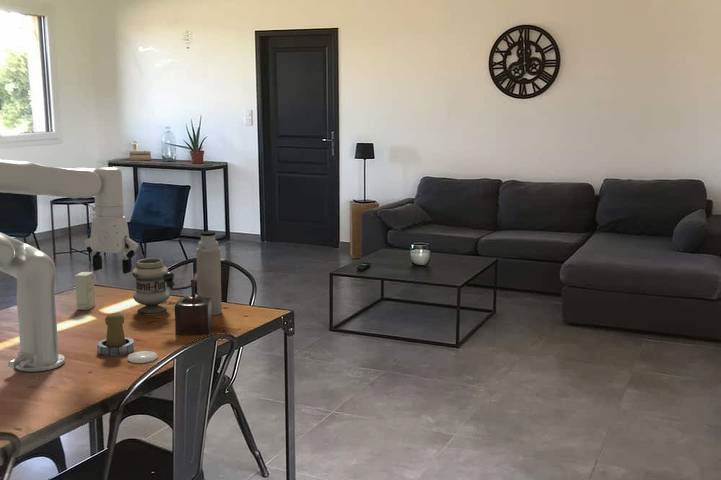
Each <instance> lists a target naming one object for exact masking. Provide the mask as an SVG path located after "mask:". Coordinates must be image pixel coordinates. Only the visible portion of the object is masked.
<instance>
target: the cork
mask: <svg viewBox="0 0 721 480" xmlns="http://www.w3.org/2000/svg"><path fill="white" fill-rule="evenodd" d="M104 321H105V324H106V326H107V328H106V338H105V339H106V346H110V347H113V346H122V345H125V344H126V341H125V337H126V336H125V332H124V331H125V330H124V327H123V324H124V323H125V317H124V315H123V314H122V313H120V312H113V313H109V314H107V315H106V316H105V319H104Z"/></svg>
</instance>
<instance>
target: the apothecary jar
mask: <svg viewBox="0 0 721 480" xmlns="http://www.w3.org/2000/svg"><path fill="white" fill-rule="evenodd" d="M163 263H164V262H163V259H162V258H159V257H158V258H157V257H149V258H141V259H138V260H137V261H136V266H134V268H133V269H132V270H131V272H132V273H131V274H132V276H133V277H134V278H135V282H136V290H135V291H134V293H133V296H132V297H133V298H132V299H133V300H134V301H135V302H136V303H137V304H140V305H143V306H142V307H140V308H138V309H137V310H136V312H137V314H138V315H144V316H158V315H162V314H165V313H166V312H167V311H168V310H167V308H166V307H164V306H162V303H165V302H166V301H168V299H169V298H170V295H171V293H170V292H169V290H168V289H167V287H166V282H165V281H164V280H163V278H162V276H163V274H164V273H166V272H169V269H168V267H167V266H165V264H163Z"/></svg>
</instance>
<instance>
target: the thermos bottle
mask: <svg viewBox="0 0 721 480" xmlns="http://www.w3.org/2000/svg"><path fill="white" fill-rule="evenodd" d="M197 246H198V247H197V248H196V252H195V253H196V283H197V284H196V285H197V286H196V287H197V288H196V289H197V291H196V295H199V296H201V297H205V298H211V299H212V301H211V303H212V316H217V315H220V314H221V313H222V312H223V311H222V310H223V309H222V279H221V278H222V271H221V270H222V266H221V264H222V262H221V261H222V260H221V256H222V255H221V248H220V247H219V241H218V240H216V232H215V231H202V232H200V240H199V241H198V245H197Z"/></svg>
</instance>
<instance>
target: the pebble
mask: <svg viewBox="0 0 721 480" xmlns="http://www.w3.org/2000/svg"><path fill="white" fill-rule="evenodd" d="M157 359H158V353H156V351H155V352H154V351H150V350H140V351H135V352H131V353H129V354H127V362H130V363H133V364H146V363H151V362H154V361H156V360H157Z"/></svg>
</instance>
